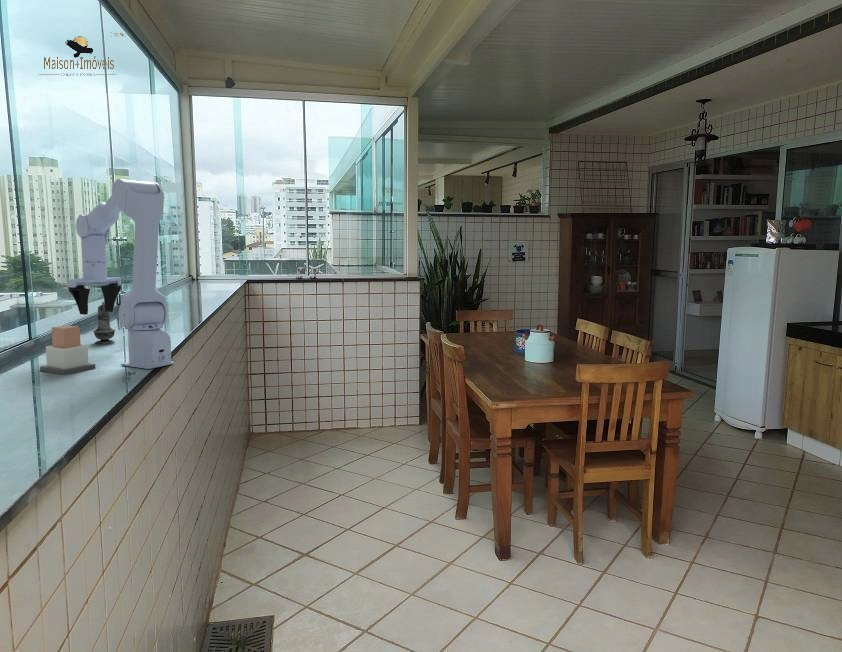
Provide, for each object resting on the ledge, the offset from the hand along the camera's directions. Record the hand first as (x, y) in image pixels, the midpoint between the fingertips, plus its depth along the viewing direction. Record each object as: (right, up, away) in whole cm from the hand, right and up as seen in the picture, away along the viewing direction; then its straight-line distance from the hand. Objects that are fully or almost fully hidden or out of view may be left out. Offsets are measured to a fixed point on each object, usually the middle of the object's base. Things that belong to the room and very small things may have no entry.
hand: (96, 312), depth 164 cm
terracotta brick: (+5, -9, -22) cm, 24 cm away
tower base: (+5, -14, -21) cm, 26 cm away
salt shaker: (-5, -9, +15) cm, 18 cm away
